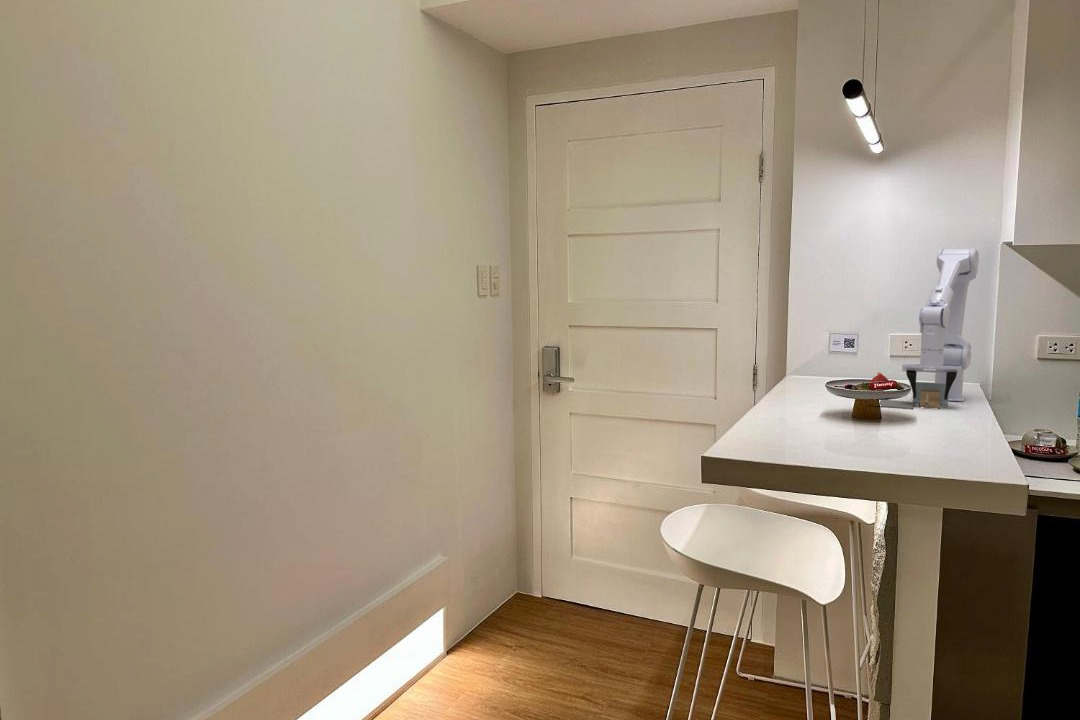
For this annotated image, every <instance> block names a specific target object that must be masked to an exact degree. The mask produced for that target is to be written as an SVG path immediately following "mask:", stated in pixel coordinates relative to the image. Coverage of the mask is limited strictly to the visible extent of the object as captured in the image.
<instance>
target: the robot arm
mask: <svg viewBox="0 0 1080 720" xmlns="http://www.w3.org/2000/svg"><path fill="white" fill-rule="evenodd" d="M979 256H980V255H979V251H978V250H977V248H975V247H973V248H948V249H947V248H946V249H944V248H941V249H940V250H939V251H938V252H937V255H936V267H937V269H938V271H939V277H938V282H937V285H935V286H934V287H932V289H931V290H930V294H929V295H928V299H927V302H926V305H925V306H924V307H921V308H920V310H919V315H918V323H919V332H920V333H921V335H920V336H921V339H920V356H919V357H920V358H919V359H920V360H919V363H913V364H912V363H902V368H901V372H906V377H907V379H908V381H909V384H910V387H911V391H912V399H913V398H916V382H917V373H935V374H934V375H935V377H934V383H946V388H945V395H944V400H947V397H948V402H950V401H951V402H964V401H965V399H964V395H963V388H964V370H967V369H968V368H969V367H970V365H971V360H972V353H971V351H972V350H971V349H972V345H971V343H970V342H969V340H967V339H965V338H964V337H963V336H962V333H963V327H964V320H965V312H966V310H965V309H966V304H967V303H966V302H967V296H968V289H969V285H970V282H971V281H973V280H974V279H976V277H977V275H978V269H979V263H980V262H979V261H980V260H979ZM948 393H949V396H948Z"/></svg>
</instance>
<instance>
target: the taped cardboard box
mask: <svg viewBox="0 0 1080 720" xmlns="http://www.w3.org/2000/svg"><path fill="white" fill-rule="evenodd" d="M939 398H940V390H925V389H921V400H920V404H919V405H920V406H919V408H920V407H924V408H923V409H933V408H937V409H936V410H939V409H940V405H939Z"/></svg>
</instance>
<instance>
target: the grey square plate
mask: <svg viewBox="0 0 1080 720" xmlns="http://www.w3.org/2000/svg"><path fill="white" fill-rule="evenodd" d="M880 400H881V401H880V405H881V407H880V408H889V409H890V408H891V409H904V410H914V407H913V406H915V403H914V402H912V401H908V400H891V399H880Z"/></svg>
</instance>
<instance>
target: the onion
mask: <svg viewBox="0 0 1080 720" xmlns="http://www.w3.org/2000/svg"><path fill="white" fill-rule="evenodd" d="M874 381H889V379H888V378H887V377H886V376H885V375H884V374H883V373H882V372H879V371H878V372H877V375H875V376H874V377H873V378H872V379H871V380H870V382H874ZM870 382H869V383H870ZM889 382H890V381H889Z"/></svg>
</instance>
